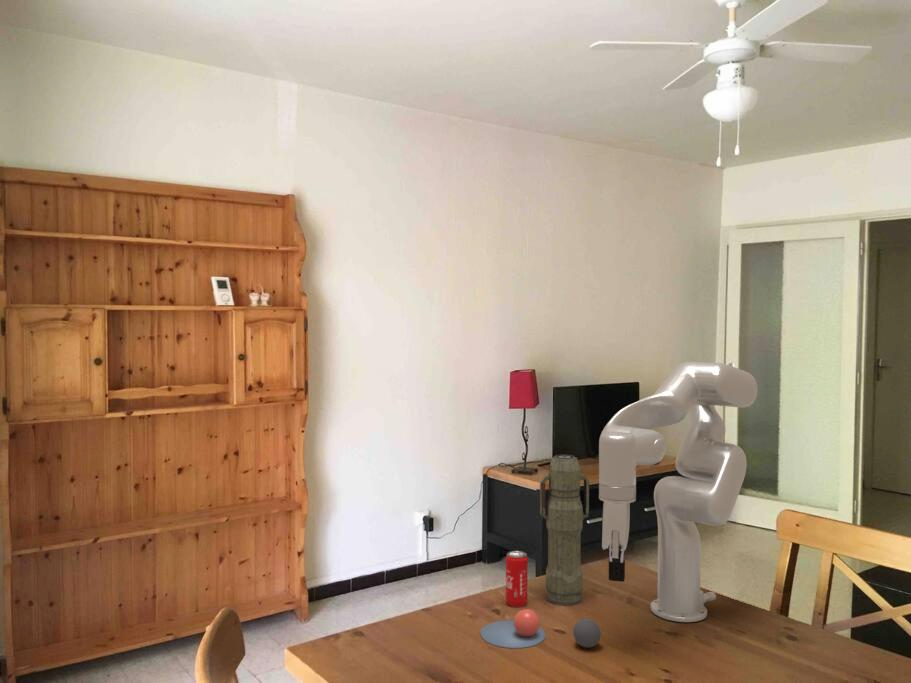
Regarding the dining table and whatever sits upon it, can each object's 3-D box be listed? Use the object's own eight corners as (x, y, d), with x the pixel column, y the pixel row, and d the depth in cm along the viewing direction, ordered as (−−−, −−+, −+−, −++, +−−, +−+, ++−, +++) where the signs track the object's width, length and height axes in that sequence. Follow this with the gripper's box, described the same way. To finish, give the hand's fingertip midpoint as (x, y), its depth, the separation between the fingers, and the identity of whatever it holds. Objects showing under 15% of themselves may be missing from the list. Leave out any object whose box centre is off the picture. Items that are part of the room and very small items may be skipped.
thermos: (535, 593, 183) (535, 454, 182) (579, 590, 185) (580, 452, 184) (546, 607, 174) (547, 460, 173) (593, 603, 177) (594, 458, 176)
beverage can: (526, 608, 174) (526, 558, 173) (504, 606, 175) (504, 556, 174) (528, 600, 179) (528, 551, 178) (507, 598, 180) (507, 550, 179)
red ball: (532, 603, 162) (524, 626, 163) (513, 604, 159) (505, 627, 159) (548, 618, 157) (539, 641, 158) (529, 619, 154) (520, 642, 155)
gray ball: (586, 609, 156) (581, 630, 158) (570, 620, 152) (565, 641, 154) (608, 624, 153) (602, 645, 154) (593, 635, 149) (587, 657, 150)
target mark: (525, 617, 169) (525, 616, 169) (557, 641, 156) (557, 640, 156) (469, 627, 163) (469, 626, 163) (498, 653, 150) (498, 652, 150)
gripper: (601, 483, 161) (601, 566, 161) (595, 499, 146) (595, 590, 147) (637, 485, 158) (636, 569, 159) (634, 501, 144) (633, 594, 145)
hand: (616, 579), depth 153 cm, fingers closed
